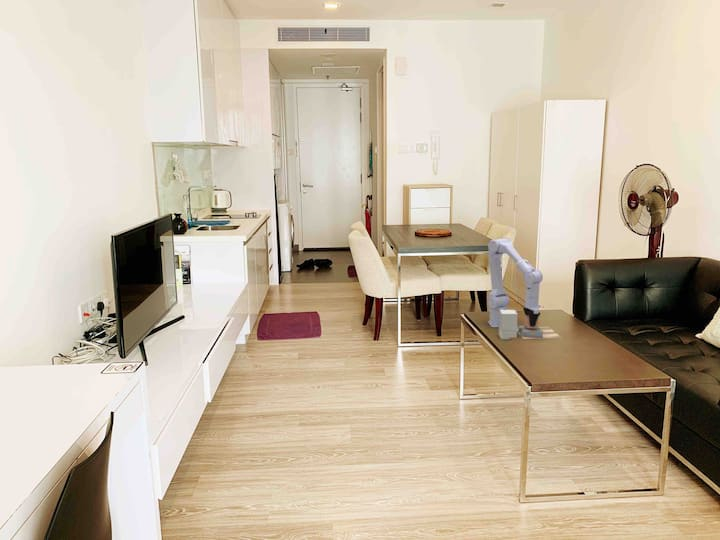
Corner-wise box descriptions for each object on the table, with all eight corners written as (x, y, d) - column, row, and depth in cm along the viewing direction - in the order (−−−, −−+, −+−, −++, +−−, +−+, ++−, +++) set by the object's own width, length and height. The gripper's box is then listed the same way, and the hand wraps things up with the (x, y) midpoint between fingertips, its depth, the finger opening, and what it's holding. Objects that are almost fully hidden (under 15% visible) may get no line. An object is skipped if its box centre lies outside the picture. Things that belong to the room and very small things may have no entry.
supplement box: (513, 335, 265) (515, 309, 262) (516, 340, 257) (518, 313, 255) (498, 334, 265) (499, 309, 263) (500, 339, 258) (501, 313, 256)
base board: (512, 328, 274) (513, 321, 273) (549, 328, 274) (549, 321, 273) (523, 340, 256) (523, 332, 256) (561, 340, 256) (562, 332, 256)
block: (523, 325, 264) (524, 315, 263) (534, 325, 264) (535, 315, 263) (527, 328, 259) (527, 318, 258) (537, 328, 259) (538, 318, 258)
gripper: (546, 300, 251) (544, 329, 254) (536, 292, 266) (534, 320, 268) (530, 300, 251) (528, 329, 254) (521, 292, 266) (519, 320, 268)
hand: (530, 324), depth 261 cm, fingers open, 5 cm apart
